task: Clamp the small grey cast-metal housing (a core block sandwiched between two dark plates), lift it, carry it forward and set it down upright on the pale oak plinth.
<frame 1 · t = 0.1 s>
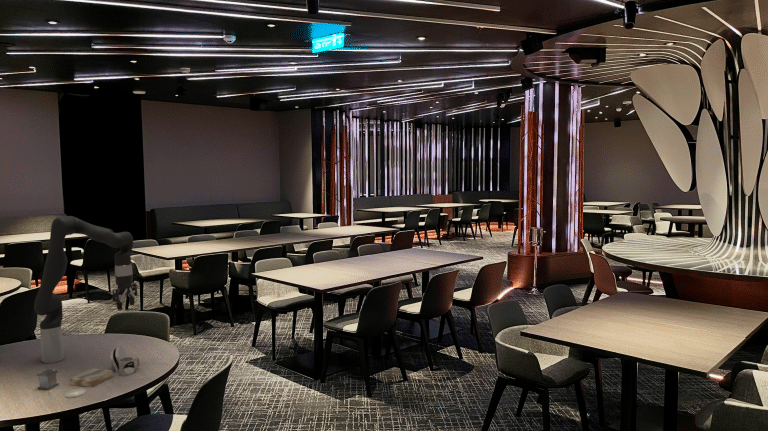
hand: (126, 307, 270), 29 cm above the table, fingers open, 8 cm apart
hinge: (121, 366, 274), on the table
housing: (48, 387, 249), on the table
oak plinth: (91, 380, 255), on the table
white smooth dome part: (75, 394, 241), on the table
mug: (130, 372, 266), on the table
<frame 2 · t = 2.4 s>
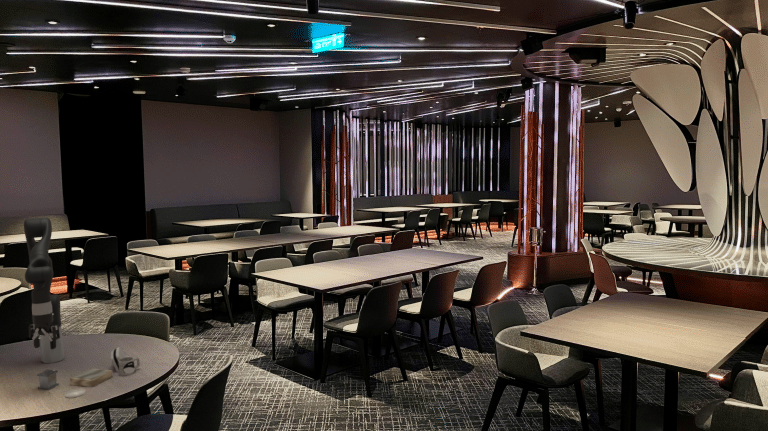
hand: (45, 348, 248), 18 cm above the table, fingers open, 8 cm apart
nothing on the table moved.
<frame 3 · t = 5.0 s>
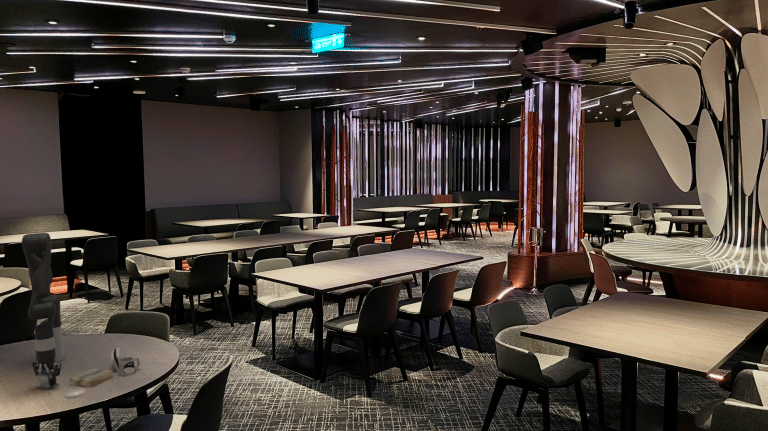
hand: (48, 384, 249), 1 cm above the table, fingers closed on housing, 4 cm apart
housing: (48, 386, 249), on the table, touching gripper
everything else where it was.
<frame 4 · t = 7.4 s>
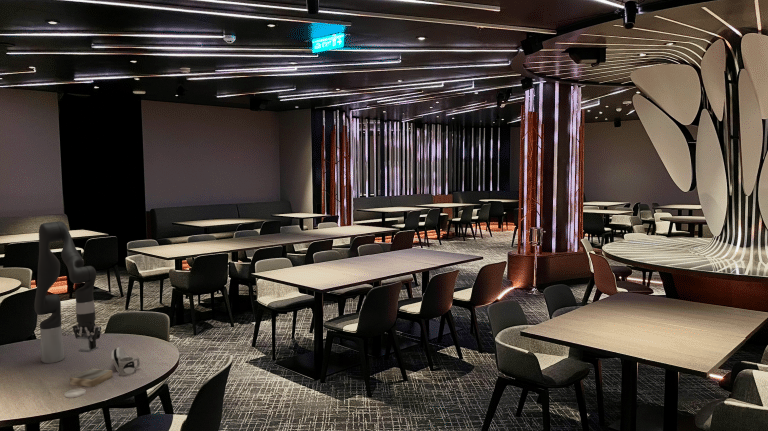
hand: (88, 348, 254), 15 cm above the table, fingers closed on housing, 4 cm apart
housing: (88, 350, 254), point 14 cm above the table, touching gripper
everything else where it was.
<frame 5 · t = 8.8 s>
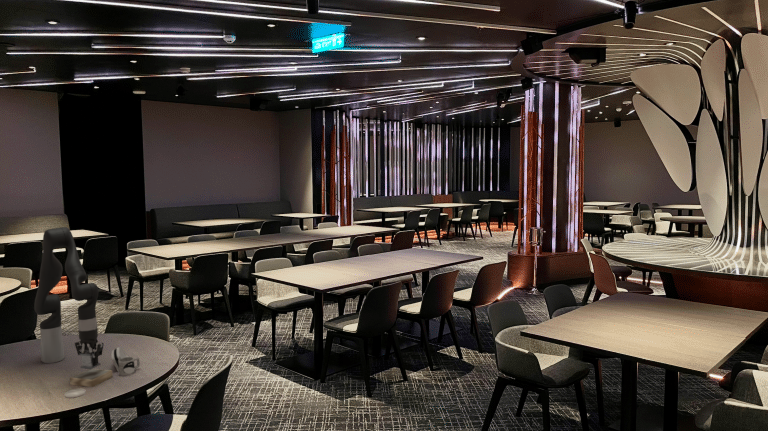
hand: (90, 364, 255), 8 cm above the table, fingers closed on housing, 4 cm apart
housing: (90, 366, 255), point 7 cm above the table, touching gripper
everything else where it was.
when the fingers open (5 cm above the table, at t = 9.8 s): housing stays where it is, resting on oak plinth.
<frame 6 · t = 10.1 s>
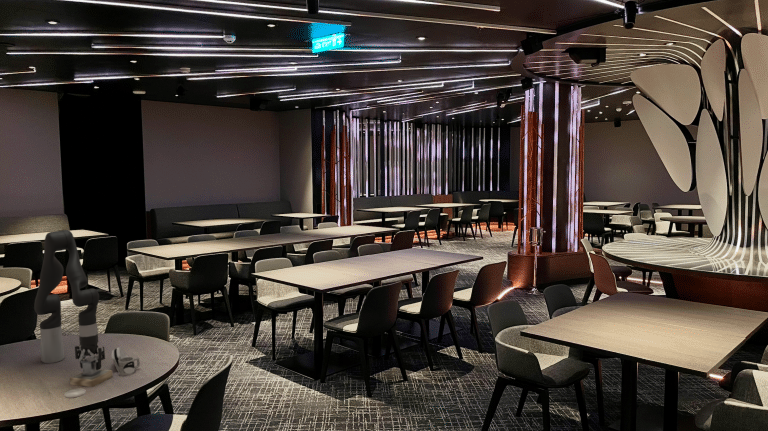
hand: (91, 368, 255), 6 cm above the table, fingers open, 7 cm apart
housing: (91, 373, 255), point 3 cm above the table, touching oak plinth
everything else where it was.
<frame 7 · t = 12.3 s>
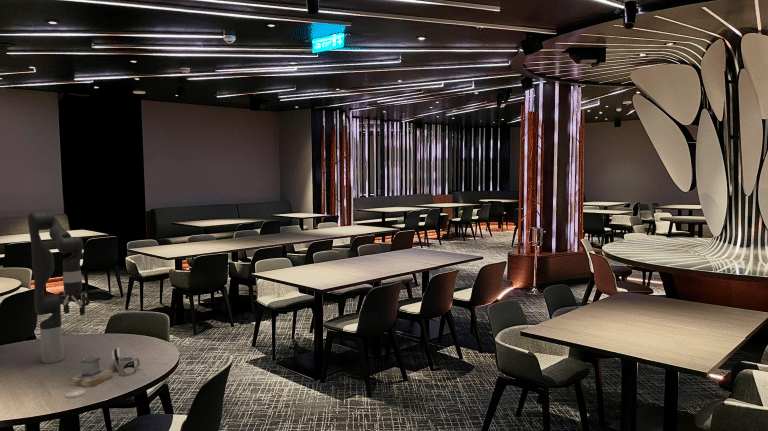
hand: (74, 314, 262), 28 cm above the table, fingers open, 8 cm apart
nothing on the table moved.
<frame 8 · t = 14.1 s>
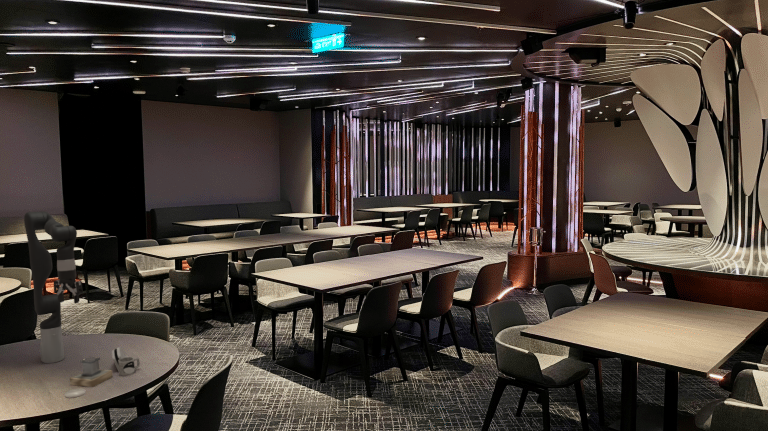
hand: (69, 302, 265), 33 cm above the table, fingers open, 8 cm apart
nothing on the table moved.
at the end: housing inside the target area on the oak plinth (0.0 cm from its centre), point 3.2 cm above the oak plinth's base; housing tilted 0°; the gripper is holding nothing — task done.
